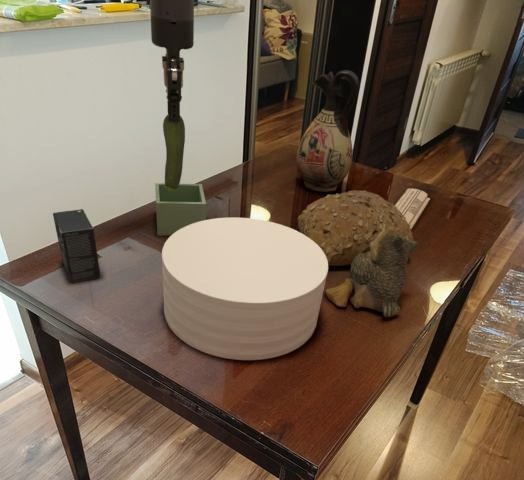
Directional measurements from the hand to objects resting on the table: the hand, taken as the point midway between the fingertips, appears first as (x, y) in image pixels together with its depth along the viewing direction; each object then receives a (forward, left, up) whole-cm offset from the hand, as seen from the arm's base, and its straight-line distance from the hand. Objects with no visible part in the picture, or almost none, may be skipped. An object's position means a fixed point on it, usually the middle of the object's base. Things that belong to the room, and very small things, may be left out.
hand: (173, 118), depth 96 cm
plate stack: (+11, -33, -23) cm, 42 cm away
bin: (+1, +1, -23) cm, 23 cm away
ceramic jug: (+42, +25, -23) cm, 54 cm away
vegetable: (0, 0, -15) cm, 15 cm away
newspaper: (+63, +11, -23) cm, 68 cm away
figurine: (+36, -30, -23) cm, 53 cm away
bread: (+39, -9, -23) cm, 47 cm away
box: (-19, -19, -23) cm, 35 cm away
